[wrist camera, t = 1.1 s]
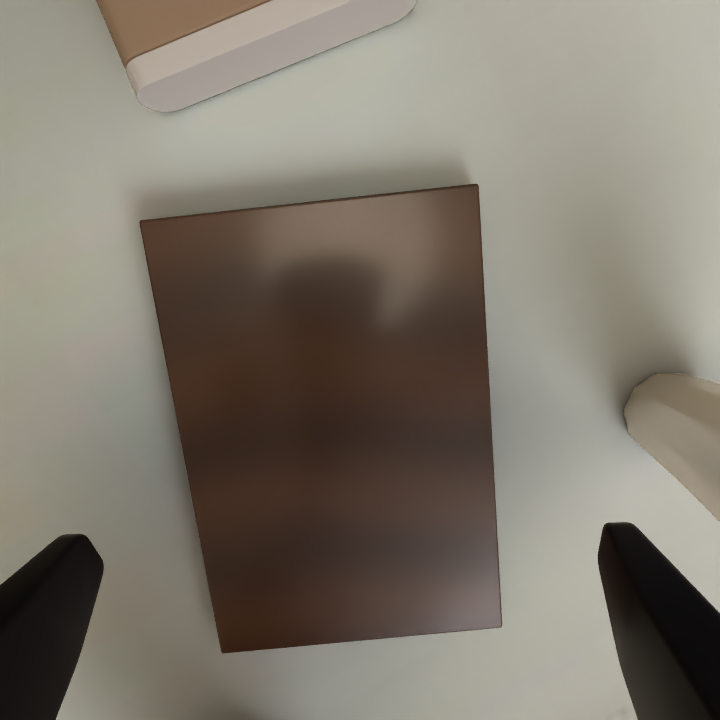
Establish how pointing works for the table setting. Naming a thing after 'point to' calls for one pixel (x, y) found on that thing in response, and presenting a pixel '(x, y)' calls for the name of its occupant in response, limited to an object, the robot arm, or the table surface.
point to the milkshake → (680, 430)
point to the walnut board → (334, 414)
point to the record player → (229, 40)
